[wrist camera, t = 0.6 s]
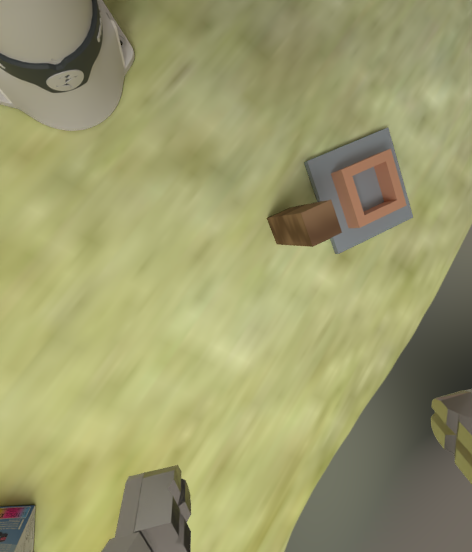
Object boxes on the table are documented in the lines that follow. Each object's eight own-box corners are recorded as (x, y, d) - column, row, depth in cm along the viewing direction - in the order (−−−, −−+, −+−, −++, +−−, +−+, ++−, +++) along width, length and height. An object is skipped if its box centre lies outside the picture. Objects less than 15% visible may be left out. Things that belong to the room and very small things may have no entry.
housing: (304, 162, 52) (316, 156, 48) (383, 129, 55) (401, 121, 51) (335, 253, 56) (349, 254, 52) (408, 217, 59) (427, 216, 55)
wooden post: (266, 218, 52) (300, 213, 40) (291, 207, 52) (331, 199, 41) (276, 244, 53) (312, 246, 41) (300, 233, 53) (342, 232, 42)
